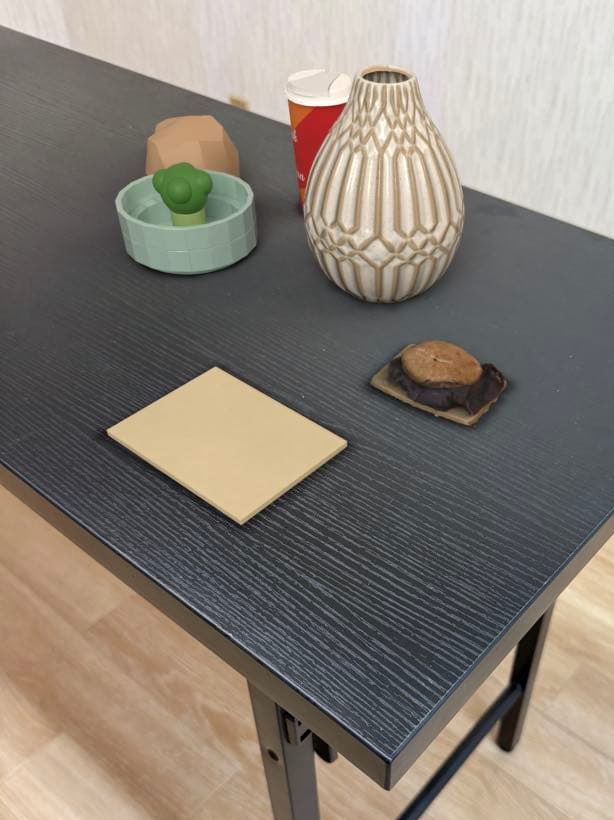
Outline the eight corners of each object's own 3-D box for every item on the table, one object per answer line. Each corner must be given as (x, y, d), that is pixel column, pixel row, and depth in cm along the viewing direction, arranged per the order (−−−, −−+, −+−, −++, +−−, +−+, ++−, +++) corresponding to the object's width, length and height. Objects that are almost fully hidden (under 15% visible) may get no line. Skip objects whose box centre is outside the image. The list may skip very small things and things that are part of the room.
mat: (107, 435, 67) (106, 429, 67) (216, 371, 74) (215, 365, 73) (241, 525, 60) (240, 520, 60) (347, 446, 67) (347, 441, 67)
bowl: (114, 278, 84) (101, 227, 80) (141, 215, 94) (131, 167, 90) (251, 280, 85) (245, 230, 81) (264, 218, 94) (259, 170, 90)
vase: (298, 319, 80) (281, 102, 65) (317, 242, 91) (306, 41, 76) (458, 327, 80) (478, 112, 65) (458, 249, 90) (475, 49, 76)
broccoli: (158, 252, 86) (143, 177, 80) (169, 225, 91) (154, 152, 85) (216, 253, 87) (205, 178, 81) (224, 226, 91) (214, 153, 85)
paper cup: (314, 188, 100) (308, 62, 90) (368, 202, 98) (368, 75, 87) (279, 213, 95) (268, 83, 85) (335, 229, 93) (330, 97, 83)
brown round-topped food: (364, 390, 72) (364, 355, 70) (414, 345, 77) (415, 311, 75) (467, 432, 69) (471, 397, 66) (512, 383, 74) (517, 348, 71)
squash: (170, 226, 93) (138, 145, 86) (142, 179, 107) (113, 106, 101) (258, 195, 94) (233, 114, 88) (218, 153, 109) (195, 80, 102)
